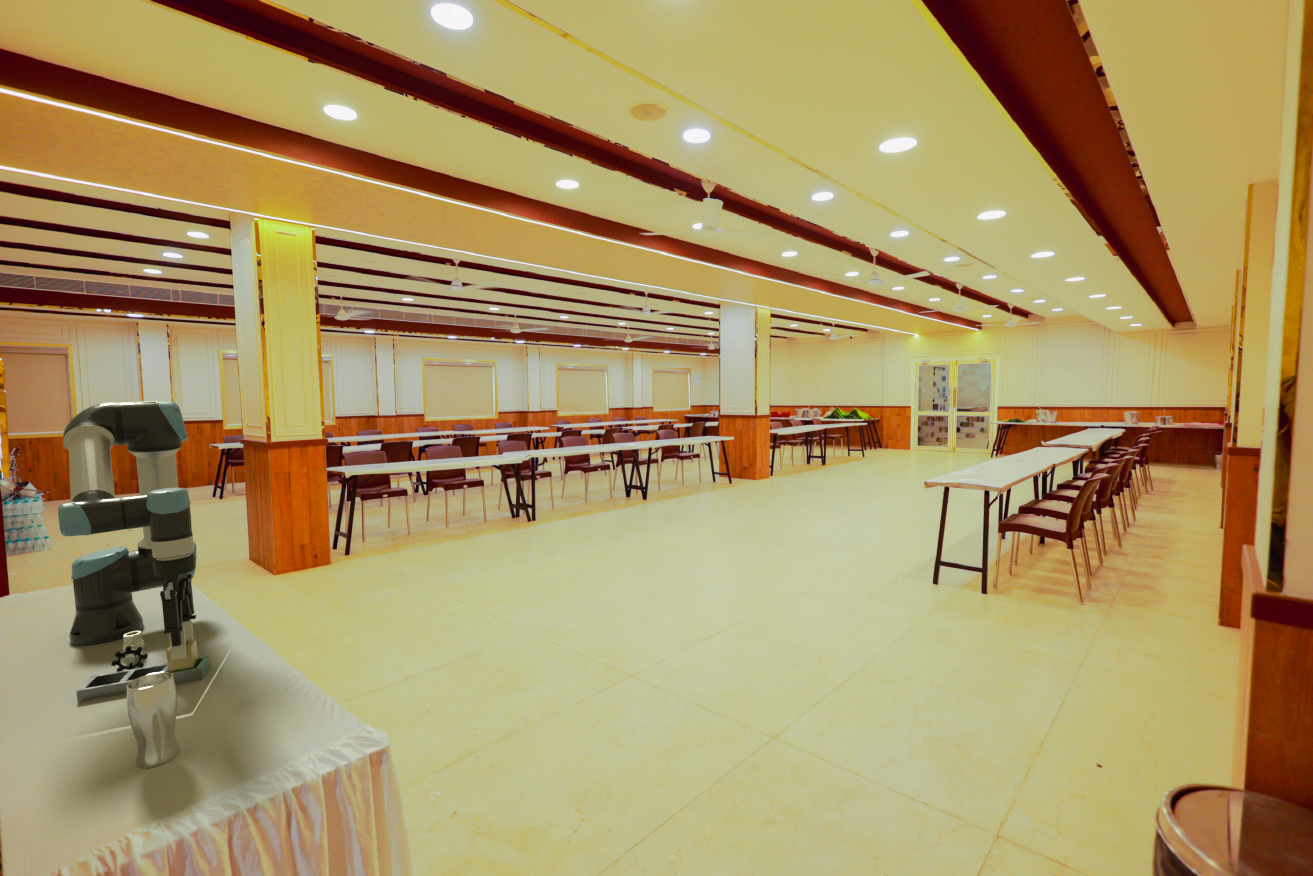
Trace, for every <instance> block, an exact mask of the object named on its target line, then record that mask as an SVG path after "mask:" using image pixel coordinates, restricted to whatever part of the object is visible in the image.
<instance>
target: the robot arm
mask: <svg viewBox="0 0 1313 876" xmlns="http://www.w3.org/2000/svg"><path fill="white" fill-rule="evenodd" d="M186 441H188V434H187V430H186V425H185V421H184V418H183V414H182V411H181V409H180V405H178V404H177V402H174V401H169V400H168V401H166V400H163V401H162V400H149V401H148V400H146V401H128V402H127V401H124V402H102V403H98V404H94V405H92V406H89V407H88V408H85V409H84V410H82V411H81V412H78V413H77V414H76V415H75V416H74V417H72V419H71V420H70V421H69V422H68V424H66V426H65V429H64V431H63V436H62V442H63V446H64V448H65V449H66V450H67V451H68V453H69V482H70V483H69V484H70V486H69V487H70V502H68V503H62V504H60V505H59V506H58V508H57V517H58V527H59V531H60V534H61V535H62V536H64V537H77V536H91V535H97V534H103V533H109V532H116V531H121V530H122V531H124V530H133V529H139V528H142V531H143V532H142V533H143V538H141V540H139V542H137V549H135V550H131V551H130V550H129V549H128V547H126V546H115V547H110V548H109V547H108V548H104V549H101V550H97V551H93V552H90V553H88V554H84V555H82V556H80V557H78V558H76V559H75V560H73V562H72V563H71V577H70V578H71V580H72V585H73V595H74V603H75V605H74V606H75V616H74V619H73V622H72V624H71V628H70V631H69V642H70V644H72V645H74V646H75V645H76V646H89V645H96V644H102V643H103V644H104V643H107V642H112V641H116V640H119V639H122V638H123V636H124V634H126V633H129V632H133V631H142V629H143V628H144V618H143V617H142V614H141V613H140V611H139V610H138V608H137V606H136V604H135V603H134V600H133V593H136V592H142V591H146V590H147V591H148V590H152V589H157V588H162V589H163V590H160V592H159V595H160V596H159V597H160V599H161V600H160V601H161V607H162V616H163V626H164V627H163V628H164V631H163V634H164V635H166V634H168V637H169V646H170V650H171V660H175V659H181V658H186V657H187V650H186V641H187V640H192V639H195V638H194V629H193V620H196V619H197V614H195V606H194V605H195V604H194V595H193V587H192V586H193V585H192V579H193V578H194V577H195V574H196V573H195V572H196V570H197V569H196V568H197V567H196V566H197V545H196V542H195V541H194V535H193V530H192V528H193V527H192V514H191V500H190V494H189V491H188V489H186V488H184V487H179V482H178V481H179V480H178V479H179V478H178V469H177V458H176V456H177V455H176V454H177V453H178V452H179V451H180V450H181V449H182V442H183V443H184V442H186ZM114 446H127V451H128V452H129V454H132V455H133V456H135V459H136V472H137V478H138V479H137V480H138V492H139V495H134V496H133V495H132V496H122V497H116V496H115V495H116V494H115V484H114V473H113V464H112V454H111V449H112V448H113V447H114Z"/></svg>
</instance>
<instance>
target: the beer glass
mask: <svg viewBox="0 0 1313 876" xmlns="http://www.w3.org/2000/svg"><path fill="white" fill-rule="evenodd" d="M176 686H177V685H175V681H174V676H173V673H171V672H157V673H152V674H148V675H145V676H142V677H139V678H137V679H135V680H133V681H131V682H130V683H129V684H128V685H127V686H126V688H127V694H126V711H127V717H128V721H129V724H130V727H131V729H132V732H133V735H134V738H135V741H136V745H137V755H136V761H135V762H136V763H135V765H136V767H137V768H139V769H142V770H143V769H145V770H146V769H152V768H155V767H160V766H162V765H164V764H167V763H168V762H170V761H172V760H173V759H175V758H176V757H177V756H179V754H180V747H179V745H178V742H177V740H176V720H177V713H178V692H177V687H176Z"/></svg>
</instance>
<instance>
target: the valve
mask: <svg viewBox="0 0 1313 876" xmlns="http://www.w3.org/2000/svg"><path fill="white" fill-rule="evenodd" d="M142 637H143V634H142V630H139V631H133V632H129V633H126V634H124V636H123V644H122V651H123V652H121V651H120V650H118V651H116V652H115V653H114V657H115V658H117V659H116V660H115V659H114V660H111V664H110V665H111V666H112V667H114V666H118V667H117V668H116V672H119V671H125V670H131V669H136V668H143V667H145V662H142V661H143V660H146V659H148V657H149V654H148V653H144V648H145V644H146V643H145V641H144V639H143V638H142ZM122 658H124V662H125V663H126V664H129V665H124V664H122V661H121V660H122ZM136 659H138V660H137V662H136V663H134V662H135V660H136Z"/></svg>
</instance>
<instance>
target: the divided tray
mask: <svg viewBox="0 0 1313 876" xmlns="http://www.w3.org/2000/svg"><path fill="white" fill-rule="evenodd" d="M198 659H199V665H198V667H197V668H196V669H190V670H184V671H178V672H173V676H174V681H175V686H177V685H183V684H186V683H192V682H198V681H203V679H204V677H205V676H206V674H207V672H208V671H209V670H210V667H211V657H210V656H200V657H199V656H198ZM157 672H169V670H168V662H166V663H162V664H155V665H149V666H143V667H142V668H139V667H136V668H134V669H131V670H127V669H124V670H123V671H119V672H117V671H114V672H108V673H102V674H97V675H96V674H95V675H91V676H90V677H89V678H88V679H87V680H86V681H85V682H84V683H83V684H82V685H81V686H80V687H79V688H78V689H77V690H76V692H75V693H76V699H77V703H80V702H86V701H87V702H88V701H93V700H98V699H104V698H108V697H109V698H110V697H114V696H120V695H127V688H126V686H127V685H128V684H129V683H130V682H131V681H133V680H135V679H137V678H139V677H142V676H145V675H148V674H152V673H157Z"/></svg>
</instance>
